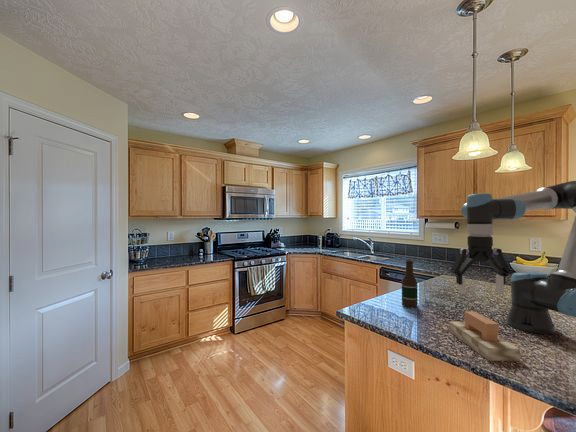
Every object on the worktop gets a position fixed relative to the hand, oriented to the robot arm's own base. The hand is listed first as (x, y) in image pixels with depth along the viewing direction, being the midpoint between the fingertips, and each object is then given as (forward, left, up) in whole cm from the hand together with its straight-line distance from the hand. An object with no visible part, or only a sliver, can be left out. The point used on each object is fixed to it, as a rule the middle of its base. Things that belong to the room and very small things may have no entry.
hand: (480, 293), depth 96 cm
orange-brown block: (0, 0, -19) cm, 19 cm away
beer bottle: (+8, -42, -19) cm, 47 cm away
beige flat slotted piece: (0, 0, -19) cm, 19 cm away
